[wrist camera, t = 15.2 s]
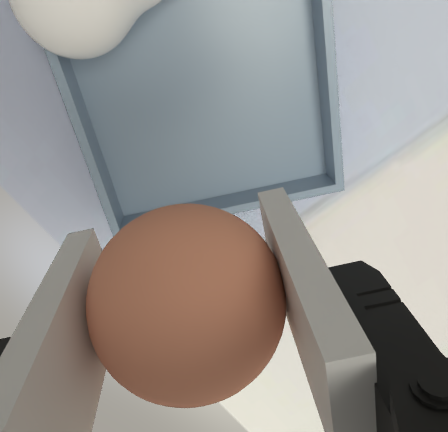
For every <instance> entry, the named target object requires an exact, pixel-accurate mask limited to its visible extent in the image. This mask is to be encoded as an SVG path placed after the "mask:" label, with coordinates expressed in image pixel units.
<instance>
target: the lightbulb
mask: <svg viewBox="0 0 448 432" xmlns="http://www.w3.org/2000/svg"><path fill="white" fill-rule="evenodd" d="M161 1H162V0H9V4H10V6H11V9H12V11H13V13H14V15H15V17H16V19H17V21H18V22H19V24H20V25H21V27H22V28H23V29H24V31H25V32H26V33H27V34H28V35H29V36H30V37H31V38H32V39H33V40H34V41H35V42H36V43H38V44H39V45H40V46H42V47H43V48H45V49H46V50H48V51H50V52H52V53H54V54H56V55H59V56H62V57H65V58H70V59H79V60H83V59H92V58H96V57H99V56H102V55H104V54H106V53H108V52H110V51H111V50H113V49H114V48H115V47H116V46H117V45H119V44H120V43H121V41H122V40H123V39H124V38H125V37H126V35H127V34H128V32H129V31H130V30H131V28H132V27H133V25H134V24H135V22H136V21H137V19H138V18H139V17H140V16H141V15H142V14H143V13H144V12H146V11H147V10H149V9H151V8H152V7H154V6H156V5H157V4H159V3H160V2H161Z"/></svg>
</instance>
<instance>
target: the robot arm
mask: <svg viewBox="0 0 448 432" xmlns="http://www.w3.org/2000/svg"><path fill="white" fill-rule="evenodd" d="M258 199H259V204H260V210H261V215H262V221H263V227H264V232H265V238H266V243H267V244H268V246H269V247H270V249H271V251H272V252H273V254H274V256H275V258H276V260H277V262H278V266H279V269H280V272H281V276H282V281H283V285H284V290H285V295H286V316H287V319H288V322H289V325H290V328H291V331H292V334H293V337H294V340H295V343H296V346H297V349H298V352H299V355H300V358H301V361H302V364H303V367H304V370H305V373H306V376H307V379H308V383H309V386H310V389H311V392H312V395H313V398H314V401H315V404H316V407H317V410H318V413H319V416H320V419H321V422H322V425H323V428H324V431H325V432H448V358H446V357H445V356H444V355H443V354H442V353H441V352H440V351H439V349H438V348H437V347H436V345H435V344H434V343H433V341H432V340H431V339H430V337H429V336H428V335H427V333H426V332H425V331H424V329H423V328H422V327H421V325H420V324H419V323H418V321H417V320H416V319H415V318H414V316H413V315H412V314H411V312H410V311H409V310H408V308H407V307H406V306H405V304H404V303H403V302H401V300H400V298H399V296H398V295H397V294H396V292H395V291H394V290H393V289H391V286H390V284H389V283H388V282H387V280H386V279H385V278H384V277H383V275H382V274H381V273H380V271H378V270H377V269H375V268H373V267H371V266H370V265H368V264H366V263H364V262H363V261H357V262H352V263H347V264H343V265H338V266H333V267H329V268H328V267H327V265H326V263H325V261H324V259H323V258H322V256H321V254H320V252H319V250H318V249H317V247H316V245H315V243H314V242H313V240H312V238H311V236H310V234H309V233H308V231H307V229H306V227H305V226H304V224H303V222H302V220H301V218H300V217H299V215H298V213H297V211H296V209H295V208H294V206H293V204H292V202H291V201H290V199H289V197H288V195H287V193H286V192H285V190H284V188H283V187H281V188H277V189H272V190H267V191H263V192H258ZM101 252H102V249H101V247H100V244H99V242H98V239H97V236H96V234H95V231H94V229H93V228H92V229H87V230H83V231H78V232H74V233H69V234H68V235H67V237H66V239H65V240H64V242H63V244H62V246H61V248H60V249H59V251H58V253H57V255H56V257H55V259H54V260H53V262H52V264H51V266H50V268H49V269H48V271H47V273H46V275H45V277H44V278H43V280H42V282H41V284H40V286H39V288H38V289H37V291H36V293H35V295H34V297H33V298H32V300H31V302H30V304H29V306H28V307H27V309H26V311H25V313H24V315H23V316H22V318H21V320H20V322H19V324H18V326H17V327H16V329H15V331H14V333H13V335H12V337H8V338H3V339H0V432H92V428H93V424H94V419H95V415H96V411H97V406H98V402H99V398H100V394H101V389H102V385H103V381H104V376H105V372H106V368H105V367H104V365H103V364H102V363H101V361H100V359H99V357H98V356H97V354H96V352H95V349H94V347H93V345H92V342H91V339H90V336H89V331H88V326H87V320H86V295H87V288H88V284H89V280H90V277H91V274H92V271H93V268H94V266H95V264H96V262H97V260H98V258H99V256H100V254H101Z"/></svg>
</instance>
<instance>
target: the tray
mask: <svg viewBox="0 0 448 432" xmlns="http://www.w3.org/2000/svg"><path fill="white" fill-rule="evenodd" d="M44 50H45V53H46V56H47V58H48V61H49V64H50V66H51V69H52V72H53V75H54V77H55V80H56V83H57V85H58V88H59V91H60V94H61V96H62V99H63V102H64V104H65V107H66V110H67V113H68V115H69V118H70V121H71V123H72V126H73V129H74V132H75V134H76V137H77V140H78V142H79V145H80V148H81V150H82V153H83V156H84V159H85V161H86V164H87V167H88V169H89V172H90V175H91V178H92V180H93V183H94V186H95V188H96V191H97V194H98V197H99V199H100V202H101V205H102V207H103V210H104V213H105V215H106V218H107V221H108V224H109V226H110V229H111V232H112V234H113V237H114V236H115V235H116V234H117V233H118V232H119V231H120V230H121V229H122V228H123V227H124V226H125V225H127V224H128V223H129V222H131V221H132V220H134V219H136V218H137V217H139V216H141V215H143V214H145V213H147V212H149V211H152V210H154V209H157V208H160V207H164V206H168V205H175V204H190V203H191V204H202V205H207V206H212V207H216V208H218V209H221V210H224V211H226V212H229V213H231V214H235V213H240V212H244V211H249V210H254V209H258V208H260V204H259V199H258V192H263V191H267V190H272V189H277V188H281V187H283V188H284V190H285V192H286V193H287V195H288V197H289V199H290V201H296V200H301V199H306V198H310V197H315V196H320V195H324V194H329V193H334V192H339V191H343V190H344V174H343V159H342V143H341V128H340V113H339V97H338V82H337V66H336V51H335V36H334V20H333V5H332V0H162V1H161V2H160V3H159V4H157V5H156V6H154V7H152V8H151V9H149V10H147V11H146V12H144V13H143V14H142V15H141V16H140V17H139V18H138V19H137V21H136V22H135V24H134V25H133V27H132V28H131V30H130V31H129V32H128V34H127V35H126V37H125V38H124V39H123V40H122V41H121V43H120V44H119V45H117V46H116V47H115V48H114V49H113V50H111V51H110V52H108V53H106V54H104V55H102V56H99V57H96V58H92V59H83V60H79V59H70V58H65V57H62V56H59V55H56V54H54V53H52V52H50V51H48V50H46V49H45V48H44Z"/></svg>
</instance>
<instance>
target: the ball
mask: <svg viewBox="0 0 448 432" xmlns="http://www.w3.org/2000/svg"><path fill="white" fill-rule="evenodd" d="M285 318H286V295H285V290H284V285H283V281H282V276H281V272H280V269H279V266H278V262H277V260H276V258H275V256H274V254H273V252H272V251H271V249H270V247H269V246H268V244H267V243H266V242H265V241H264V240H263V238H262V237H261V236H260V235H259V234H258V233H257V232H256V231H255V230H254V229H253V228H252V227H251V226H250V225H249V224H247V223H246V222H244V221H243V220H241V219H240V218H238V217H236V216H235V215H233V214H231V213H229V212H226V211H224V210H221V209H218V208H216V207H212V206H207V205H202V204H191V203H190V204H175V205H168V206H164V207H160V208H157V209H154V210H152V211H149V212H147V213H145V214H143V215H141V216H139V217H137V218H136V219H134V220H132V221H131V222H129V223H128V224H127V225H125V226H124V227H123V228H122V229H121V230H120V231H119V232H118V233H117V234H116V235H115V236H114V237H113V238H112V239H111V240H110V241H109V242H108V244H107V245H106V246H105V248H104V249H103V251H102V252H101V254H100V256H99V258H98V260H97V262H96V264H95V266H94V268H93V271H92V274H91V277H90V280H89V284H88V288H87V295H86V320H87V326H88V331H89V336H90V339H91V342H92V345H93V347H94V349H95V352H96V354H97V356H98V357H99V359H100V361H101V363H102V364H103V365H104V367H105V368H106V369H107V370H108V372H109V373H110V374H111V376H112V377H113V378H114V379H115V380H116V381H117V382H118V383H119V384H121V385H122V386H123V387H125V388H126V389H127V390H129V391H130V392H131V393H133V394H135V395H136V396H138V397H140V398H142V399H144V400H146V401H149V402H152V403H155V404H158V405H163V406H168V407H175V408H195V407H201V406H206V405H210V404H214V403H217V402H219V401H222V400H225V399H227V398H229V397H231V396H233V395H235V394H236V393H238V392H239V391H241V390H242V389H243V388H245V387H246V386H247V385H248V384H250V383H251V382H252V381H253V380H254V379H255V378H256V377H257V376H258V375H259V374H260V373H261V372H262V371H263V369H264V368H265V367H266V365H267V364H268V363H269V361H270V360H271V358H272V356H273V354H274V353H275V351H276V348H277V346H278V343H279V341H280V339H281V336H282V332H283V328H284V324H285Z"/></svg>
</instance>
